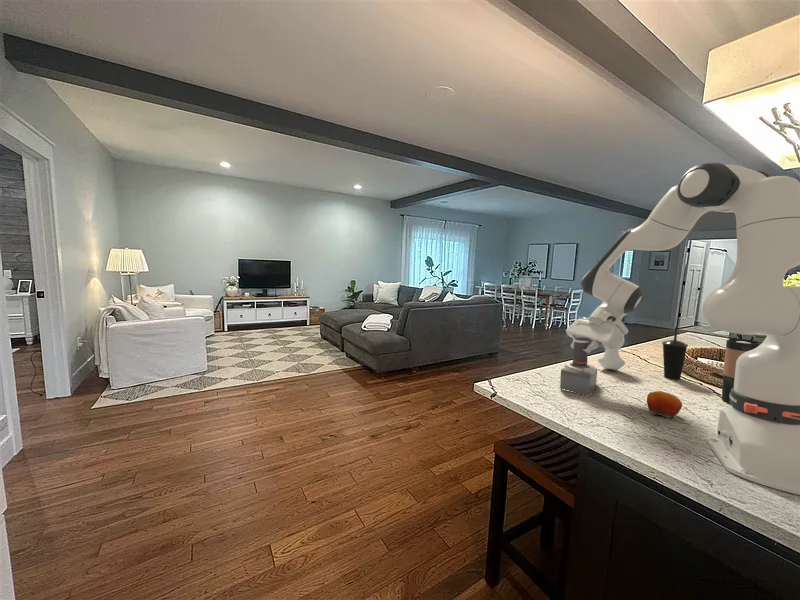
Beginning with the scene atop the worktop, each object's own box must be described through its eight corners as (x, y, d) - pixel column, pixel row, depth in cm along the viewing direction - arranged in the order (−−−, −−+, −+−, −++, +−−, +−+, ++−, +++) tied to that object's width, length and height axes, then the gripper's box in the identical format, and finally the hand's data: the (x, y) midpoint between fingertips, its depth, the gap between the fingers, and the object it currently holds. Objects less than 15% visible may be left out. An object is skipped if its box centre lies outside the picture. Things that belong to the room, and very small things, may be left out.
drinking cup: (657, 377, 127) (661, 327, 125) (661, 373, 132) (665, 324, 130) (683, 382, 121) (687, 329, 119) (686, 378, 127) (690, 327, 124)
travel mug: (762, 408, 99) (769, 344, 97) (732, 407, 101) (739, 343, 99) (741, 398, 107) (748, 338, 104) (714, 397, 108) (719, 337, 106)
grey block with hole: (588, 396, 110) (590, 373, 109) (560, 389, 116) (560, 367, 115) (596, 384, 121) (597, 363, 120) (569, 379, 126) (570, 358, 126)
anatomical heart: (596, 370, 136) (598, 335, 134) (597, 364, 145) (599, 330, 144) (624, 374, 131) (627, 338, 129) (624, 367, 140) (626, 333, 138)
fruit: (642, 412, 94) (646, 385, 97) (645, 417, 100) (649, 392, 102) (679, 421, 89) (682, 392, 91) (680, 426, 94) (683, 399, 96)
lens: (585, 367, 114) (587, 339, 113) (571, 364, 117) (572, 337, 116) (588, 363, 118) (589, 336, 117) (574, 361, 121) (575, 335, 120)
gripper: (575, 311, 127) (553, 337, 126) (623, 320, 107) (597, 351, 106) (584, 322, 129) (562, 348, 127) (633, 332, 109) (607, 363, 108)
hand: (578, 349), depth 117 cm, fingers closed on lens, 4 cm apart
